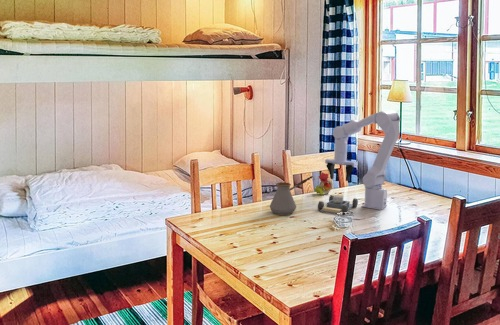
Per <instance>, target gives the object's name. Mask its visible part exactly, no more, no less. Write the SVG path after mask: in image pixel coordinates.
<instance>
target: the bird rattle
mask: <svg viewBox="0 0 500 325" xmlns="http://www.w3.org/2000/svg"><path fill="white" fill-rule="evenodd" d="M318 179H319V181H320V182H319V185H318V184H316V186H315V188H314V189H313V190H314V192H315V193H316V194H317V193H319V195H322V196H324V195H325V194H329V193H330V192H331V191H332V189H333V182H332V181H331V180H332V179H330V178H329V173H324V172H323V171H322V172H321V174H320V175H319V176H318Z"/></svg>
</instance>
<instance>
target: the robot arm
mask: <svg viewBox="0 0 500 325" xmlns="http://www.w3.org/2000/svg"><path fill="white" fill-rule="evenodd" d="M400 122H401V117H400V115H399V112H397V111H396V110H385V111H382V110H381V111H378V112H375V113H373V114H370V115H367V117H364V118H362V119H360V120H357V119H350V120H349V122H347V123H342V125H340V126H339V125H338V126H335V127H334V128H333V130H332V136H333V137H334V139H335V140H334V156H333V157H334V158H333V159H331V158H326V159H325V160H324V161H325V162H324V163H325V164H326V168H327V170H328V172H329V173H328V174H329V176H330V178H329V179H330V180H333V179H334V178H335V177H334V176H335V174H334V173H335V166H336V165H338V166H345V182H348V181H350V176H351V174H352V171H353V170H354V168H355V167H356V165H357V164H356V163H357V162H356V161H351V160H348V158H347V157H348V156H347V155H348V141H349V137H350V136H352V135H354V134H357V133H360V132H361V130H362V128H365V127H367V126H369V125H372V124H376V125H377V126H378V127H379V128H380V129H381V130H382V131H383V133H384V134H385V135H384V137H383V140H382V143H381V145H380V146H379V149H378V152H377V154H376V157H375V160H374V162H373V164H372V166H371V167H370V168H369V169H368V170H367V171H366V174H364V175H363V177H362V184H363V185H364V189H365V190H364V203H363V204H362V205H361V208H369V209H376V210H384V209H385V208H386V207H387V199H388V198H387V197H388V191H387V189H386V188H383V185H384V183H385V182H386V174H387V171H386V170H385V169H386V168H387V165H388V162H389V159H390V158H391V155H392V153H393V150H394V149H395V146H396V143H397V141H398V139H399V136H400Z"/></svg>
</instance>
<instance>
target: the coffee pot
mask: <svg viewBox="0 0 500 325" xmlns="http://www.w3.org/2000/svg"><path fill="white" fill-rule="evenodd" d="M310 179H312V181H315V180H316V179H315V177H314V175H311V176H309V177H307V178H306V179H303V180H301V181H300V182H298V183H297V184H296V185H294V186H291V185H292V184H291V183H290V182H284V181H283V182H277V183H275V185H276V191H275V192H274V195H273V198H272V200H271V202H270V205H269V208H270V210H271V211H272V213H273V214H275V215H277V216H288V215H289V216H290V215H292V213H293V212H295V211H296V209H297V205H296V203H295V200H294V198H293V195H292V192H291V191H292V190H294V189H296V188H297V187H299V186H301V185H303V184H305V183H306V182H307V181H310Z"/></svg>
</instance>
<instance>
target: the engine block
mask: <svg viewBox="0 0 500 325" xmlns="http://www.w3.org/2000/svg"><path fill="white" fill-rule="evenodd" d="M343 201H344V195H337V194H334V200H333V203H334V204H340V205H343Z"/></svg>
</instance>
